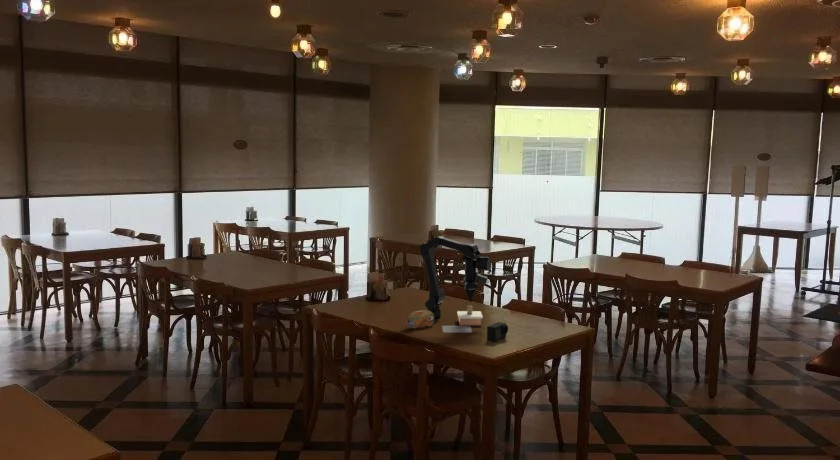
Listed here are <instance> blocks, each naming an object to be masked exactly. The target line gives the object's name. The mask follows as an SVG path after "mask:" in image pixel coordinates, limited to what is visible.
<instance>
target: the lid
mask: <svg viewBox="0 0 840 460" xmlns="http://www.w3.org/2000/svg"><path fill="white" fill-rule="evenodd" d="M466 306H467V307H466V310H461V311H460V310H457V312H456V314H457V317H458V320H459V319H481V320H482V319H483V317H484V316H483V314H482V311H480V310H478V311H477V310H473V305H466Z"/></svg>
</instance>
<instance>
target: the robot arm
mask: <svg viewBox="0 0 840 460" xmlns="http://www.w3.org/2000/svg"><path fill="white" fill-rule="evenodd" d="M440 246H442V247H445V248H448V249H452V250H455V251H457V252H459V253H460V254H462V255H463V257H461V259H460V260H461V261H464V277H463V285H464V290H465V292H466V295H467V297H468V300H469V301H468V302H470V303H471V302H473V298H474V295H475V292H476V291H477V290H478V288H479V283H481V284H483V285H486V284H487V282H488V276H486V274H485V273H483V272H481V273H478V272H477V271H486V272H490V271H491V269H492V261H491V258H490V257H489V256H483V254H482V253H481V252H480V251H479V247H478V245H477V244H475V243H467V242H459V241H457V240H453V239H451V238H447V237H444V236H442V235H439V236H435V237H434V238H432V239H431V240H428V241H427V242H425V243H421V244H420V245H419V247H418V250H419V253H420V256H421V258H422V259H423V261H424V264H425V270H426V273H427V278H428V284H429V290H428V291H429V292H428V299H427V300H426V301H425V303H424V306H425V308H427V310H428V311H431V312H432V313H433V314H434V317H435V319H434V320H436V319H437V320H440V319H441V316H442V313H441V310H442V309H441V308H440V306H442V304H443V303H444V301H445V298H446V294H445V289H444V288H441V287H440V282H439V279H438V274H437V268H436V264H435V259H434V258H435V255H436V249H437V248H438V247H440Z"/></svg>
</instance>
